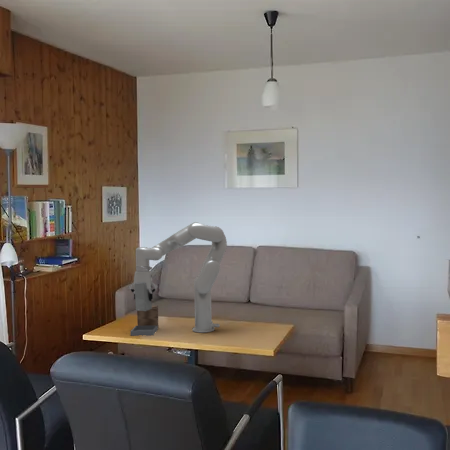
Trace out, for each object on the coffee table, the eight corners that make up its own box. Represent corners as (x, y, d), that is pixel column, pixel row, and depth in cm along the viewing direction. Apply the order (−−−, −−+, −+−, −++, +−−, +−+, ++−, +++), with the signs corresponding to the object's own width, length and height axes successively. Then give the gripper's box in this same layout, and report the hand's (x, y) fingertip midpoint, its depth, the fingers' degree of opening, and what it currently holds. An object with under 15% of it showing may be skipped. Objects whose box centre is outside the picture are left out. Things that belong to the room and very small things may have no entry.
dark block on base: (158, 328, 318) (157, 305, 318) (157, 329, 314) (156, 307, 313) (138, 328, 319) (137, 305, 318) (136, 330, 314) (135, 307, 314)
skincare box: (145, 311, 302) (145, 283, 301) (134, 310, 304) (133, 282, 304) (152, 308, 310) (152, 281, 309) (141, 308, 312) (141, 280, 311)
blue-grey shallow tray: (157, 329, 314) (157, 325, 314) (153, 335, 300) (153, 331, 300) (136, 329, 315) (135, 325, 315) (130, 335, 301) (130, 331, 301)
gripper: (159, 268, 309) (159, 299, 310) (129, 268, 310) (129, 299, 311) (156, 270, 302) (157, 301, 302) (125, 270, 303) (126, 301, 304)
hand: (143, 300), depth 307 cm, fingers closed on skincare box, 7 cm apart
